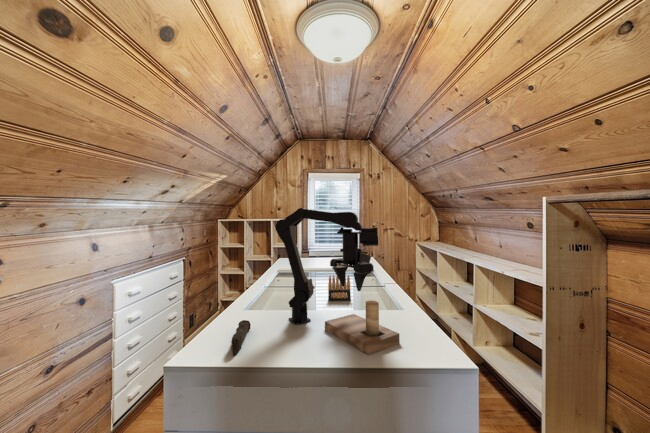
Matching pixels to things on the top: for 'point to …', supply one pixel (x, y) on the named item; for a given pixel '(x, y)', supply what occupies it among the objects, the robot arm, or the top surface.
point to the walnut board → (361, 334)
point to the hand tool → (240, 336)
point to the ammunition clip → (339, 290)
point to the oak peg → (372, 319)
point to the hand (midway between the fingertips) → (350, 288)
